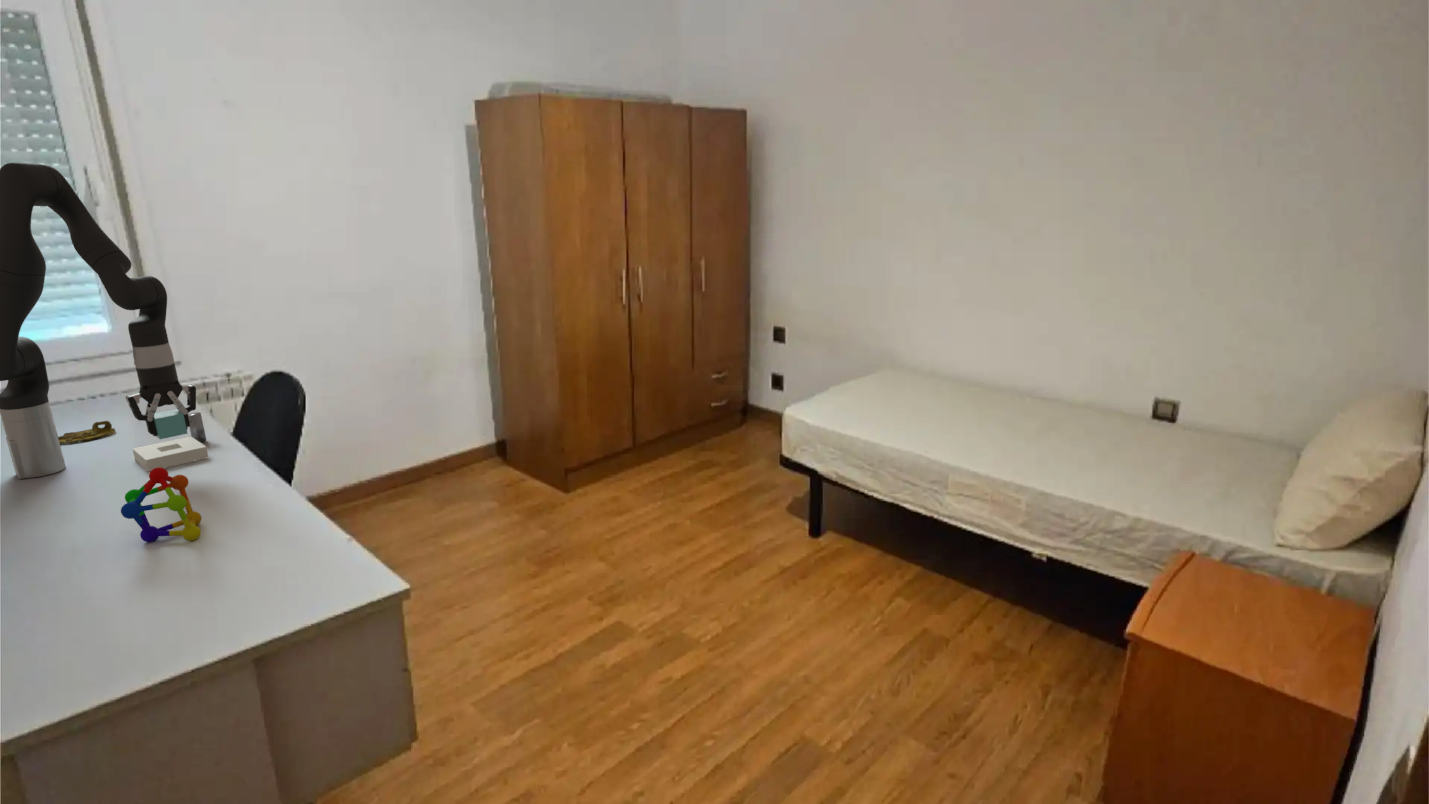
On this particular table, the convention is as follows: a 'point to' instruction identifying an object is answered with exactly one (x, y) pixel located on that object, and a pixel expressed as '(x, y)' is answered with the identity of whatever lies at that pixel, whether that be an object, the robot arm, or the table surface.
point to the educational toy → (174, 503)
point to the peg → (197, 427)
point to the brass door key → (88, 434)
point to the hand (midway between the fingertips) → (170, 431)
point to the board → (170, 453)
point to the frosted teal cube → (170, 424)
